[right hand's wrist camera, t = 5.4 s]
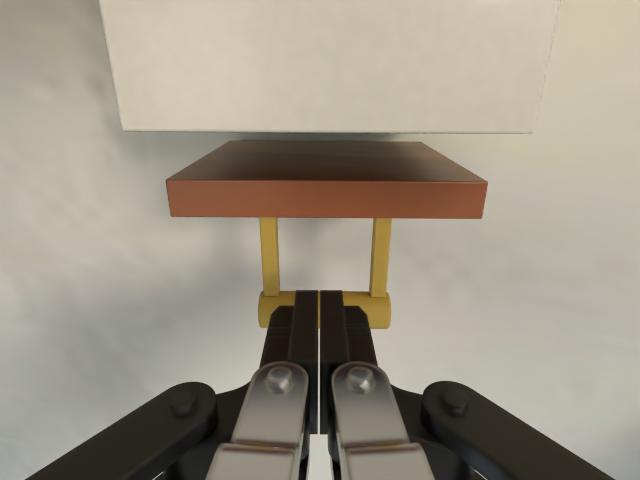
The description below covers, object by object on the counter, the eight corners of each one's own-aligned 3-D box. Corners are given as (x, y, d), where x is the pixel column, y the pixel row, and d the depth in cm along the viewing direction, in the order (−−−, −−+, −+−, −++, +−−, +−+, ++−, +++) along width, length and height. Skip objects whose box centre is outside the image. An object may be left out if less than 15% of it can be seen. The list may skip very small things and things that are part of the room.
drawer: (409, 262, 22) (457, 362, 14) (238, 260, 22) (191, 360, 14) (466, -310, 14) (665, -857, 6) (192, -310, 14) (13, -852, 6)
